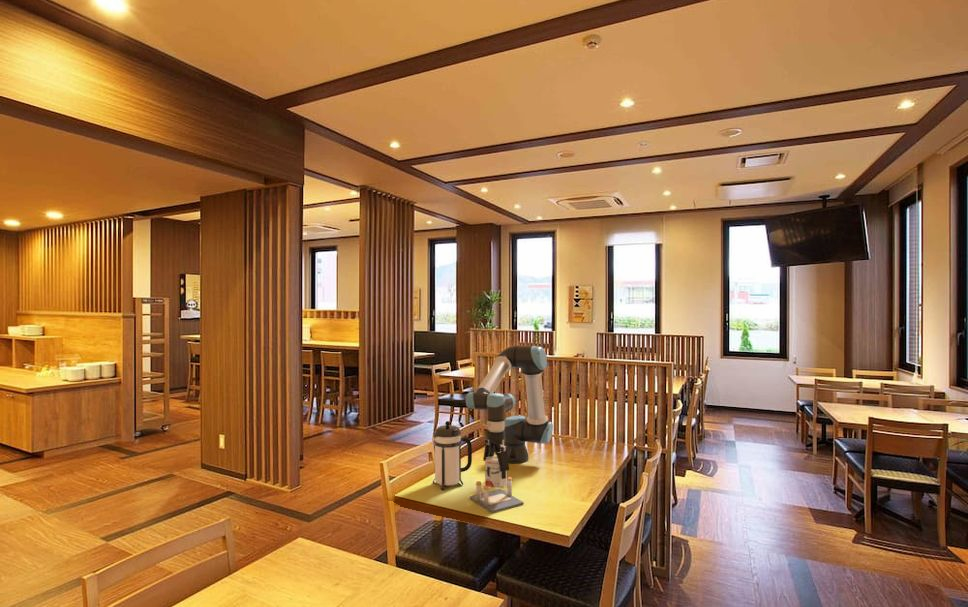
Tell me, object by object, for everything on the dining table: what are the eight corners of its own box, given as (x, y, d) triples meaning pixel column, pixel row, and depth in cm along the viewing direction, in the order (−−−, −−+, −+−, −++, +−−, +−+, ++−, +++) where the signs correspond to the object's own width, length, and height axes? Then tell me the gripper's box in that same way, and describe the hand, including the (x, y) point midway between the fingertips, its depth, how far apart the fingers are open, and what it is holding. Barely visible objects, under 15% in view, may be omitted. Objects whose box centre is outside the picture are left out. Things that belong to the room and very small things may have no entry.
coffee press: (458, 492, 220) (457, 426, 220) (426, 488, 226) (426, 423, 226) (472, 479, 237) (472, 417, 237) (442, 475, 242) (442, 415, 242)
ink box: (484, 486, 209) (484, 459, 209) (488, 482, 214) (488, 455, 214) (504, 488, 207) (503, 460, 207) (507, 484, 211) (506, 457, 211)
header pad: (469, 498, 214) (469, 478, 214) (500, 490, 222) (499, 471, 222) (491, 513, 198) (491, 491, 198) (523, 504, 207) (523, 483, 207)
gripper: (475, 425, 218) (475, 476, 218) (502, 437, 199) (503, 492, 199) (489, 423, 222) (489, 473, 222) (517, 434, 203) (518, 488, 203)
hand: (495, 482), depth 210 cm, fingers closed on ink box, 9 cm apart
